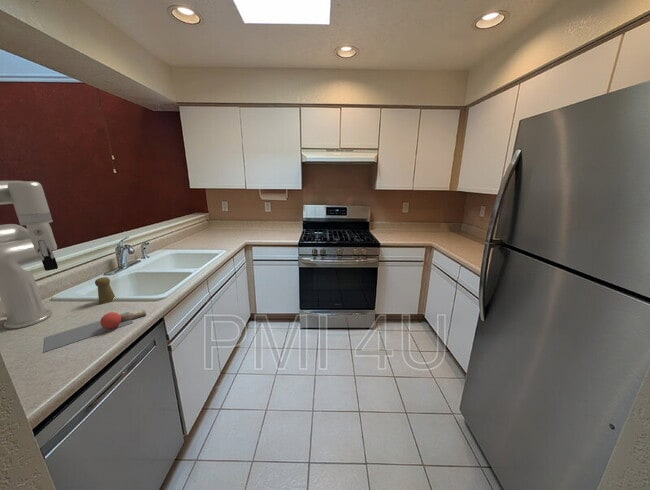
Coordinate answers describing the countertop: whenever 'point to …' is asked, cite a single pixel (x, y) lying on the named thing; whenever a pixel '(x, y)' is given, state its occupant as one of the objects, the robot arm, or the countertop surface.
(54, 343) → the plate
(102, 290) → the cork
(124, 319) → the pin
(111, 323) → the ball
